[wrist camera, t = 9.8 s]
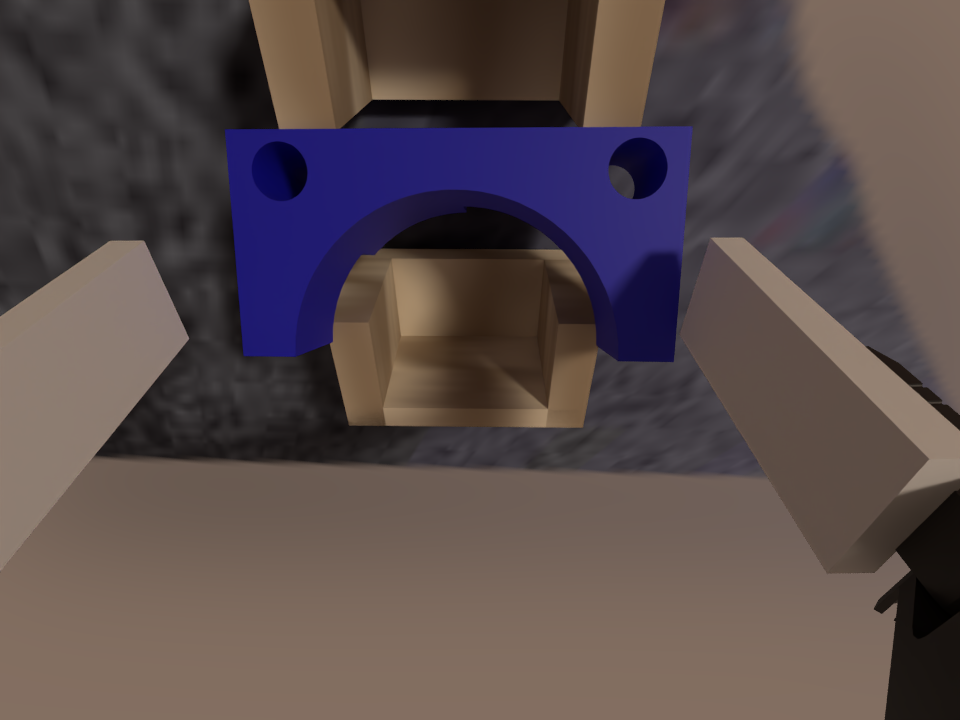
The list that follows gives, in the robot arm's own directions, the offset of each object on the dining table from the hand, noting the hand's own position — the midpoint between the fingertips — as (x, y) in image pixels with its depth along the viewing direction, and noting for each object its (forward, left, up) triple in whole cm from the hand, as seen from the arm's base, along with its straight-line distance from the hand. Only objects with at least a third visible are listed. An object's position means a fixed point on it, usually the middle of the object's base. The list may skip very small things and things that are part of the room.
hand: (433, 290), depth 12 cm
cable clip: (0, +2, -5) cm, 6 cm away
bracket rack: (+1, 0, -9) cm, 9 cm away
